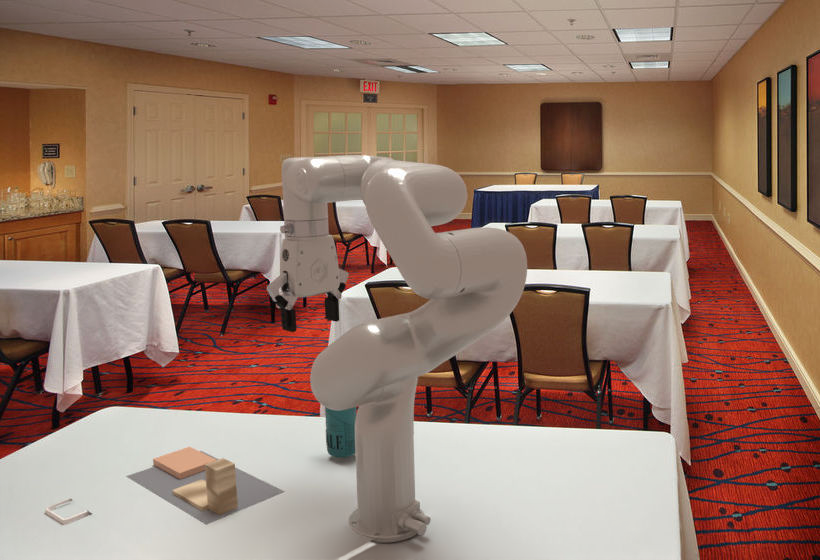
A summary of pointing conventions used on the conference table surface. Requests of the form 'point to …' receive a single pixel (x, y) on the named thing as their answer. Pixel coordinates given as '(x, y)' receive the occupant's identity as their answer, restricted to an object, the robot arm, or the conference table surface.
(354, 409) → the beverage bottle
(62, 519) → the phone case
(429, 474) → the conference table surface
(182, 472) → the tile
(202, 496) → the stepped wooden block
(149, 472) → the slate board
